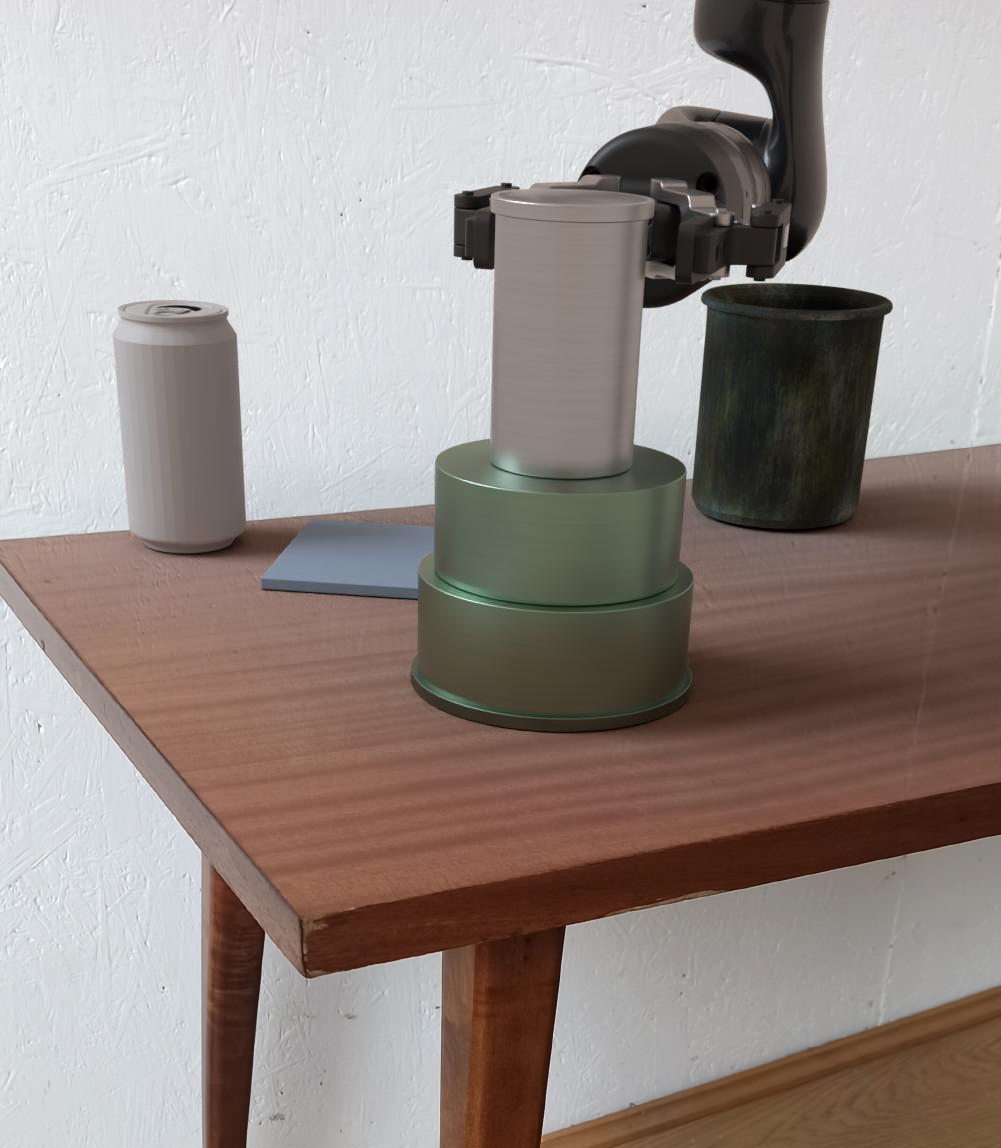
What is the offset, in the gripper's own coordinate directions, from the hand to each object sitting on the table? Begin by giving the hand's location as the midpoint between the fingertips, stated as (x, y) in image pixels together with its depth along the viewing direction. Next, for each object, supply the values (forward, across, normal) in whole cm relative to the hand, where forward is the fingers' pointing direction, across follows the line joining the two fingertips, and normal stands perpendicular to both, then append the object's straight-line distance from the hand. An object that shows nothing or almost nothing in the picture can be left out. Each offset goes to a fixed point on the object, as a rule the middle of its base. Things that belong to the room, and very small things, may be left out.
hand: (581, 247), depth 70 cm
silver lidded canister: (+2, 0, +8) cm, 8 cm away
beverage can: (-13, -25, +18) cm, 33 cm away
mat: (-13, -13, +18) cm, 25 cm away
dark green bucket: (-35, +5, +18) cm, 39 cm away
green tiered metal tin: (+2, 0, +18) cm, 18 cm away
